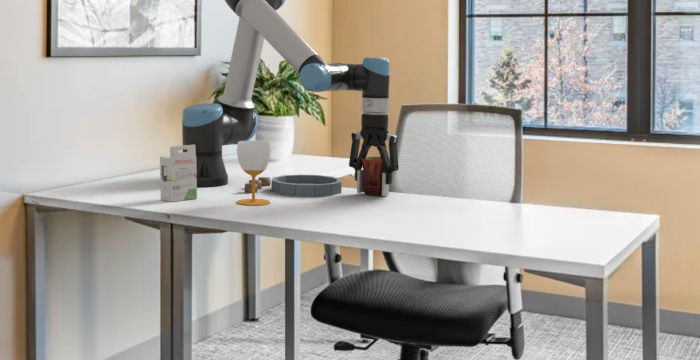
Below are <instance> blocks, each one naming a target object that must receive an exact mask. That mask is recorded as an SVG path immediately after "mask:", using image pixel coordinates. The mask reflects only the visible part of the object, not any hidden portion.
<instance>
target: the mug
mask: <svg viewBox="0 0 700 360" xmlns="http://www.w3.org/2000/svg"><path fill="white" fill-rule="evenodd" d="M389 159H390V157H389ZM361 161H362V165H363V166H362V167H363V168H362V169H363V185H362V186H363V192H362V193H364V194H365V195H367V196H373V197H374V196H375V197H376V196H377V197H379V196H382V173H384V172H385V169H384V166H383V163H382V160H381V157H380V156H366V159H362V158H361Z"/></svg>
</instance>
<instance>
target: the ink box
mask: <svg viewBox="0 0 700 360" xmlns="http://www.w3.org/2000/svg"><path fill="white" fill-rule="evenodd" d="M183 149H184V150H186V149H187V152H183ZM180 151H182V152H180ZM159 167H160V168H159V174H160V176H159V177H160V179H159V180H160V181H159V182H160V200H161V201H165V202H169V203H175V202H182V201H190V200H196V199H198V197H197V196H198V194H197V192H198V191H197V190H198V189H197V188H198V186H197V178H196V177H197V174H196V149H195V145H183V144H182V145H174V146H173V145H172V146H170V148H169V155H167V156H166V155H165V156H161V155H160V156H159Z"/></svg>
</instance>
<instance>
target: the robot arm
mask: <svg viewBox="0 0 700 360" xmlns="http://www.w3.org/2000/svg"><path fill="white" fill-rule="evenodd" d="M224 2H225V4H226V5H227V6H228V7H229V9H231V10H232V11H233V13H234V14H235V15H236V16H237V17H239V18H238V23H237V27H236V34H235V38H234V42H233V47H232V52H231V55H230V56H231V57H230V61H229V65H228V66H229V67H228V72H227V77H226V81H225V84H224V90H223V94H221V95H219V96H218V97H217V101H216V103H212V102H211V103H209V102H208V103H207V102H205V103H198V104H197V103H196V104H192V105H188V106H186V107H185V108H184V109H183V111H182V119H181V123H182V126H181V127H182V128H181V129H182V136H181V137H182V145H195V149H196V174H197V177H196V178H197V187H217V186H224V185H228V183H229V176H228V175H229V174H228V173H227V170H226V166H225V162H224V158H223V146H231V145H238V142H240V141H251V139H253V137H254V136H255V135H256V133H257V132H258V131H257V130H258V126H259V118H258V117H257V113H256V111H255V106H256V105H255V103H254V102H253V100H252V98H253V93H254V90H255V89H254V88H255V83H256V79H257V74H258V71H259V65H260V60H261V55H262V52H263V47H264V41H265V40H266V42H267V43H269V45H270V46H271V47H272V48H273V49H274V50H275V51H276V52H277V53H278V54H279V55H280V56H281V57H282V58H283V59H284V60H285V61H286V62H287V63H288V64H289V66H291V67H292V69H293V70H294V71H295V72H296V73H298V75H299V82H300V84H301V86H302V88H303V89H304V90H306V91H308V92H314V93H321V92H335V91H336V92H337V91H339V92H341V91H354V92H355V91H357V92H361V95H362V96H361V112H363V113H362V114H361V117H360V118H361V122H360V123H361V130H360V131H359V132H358V131H357V132H352V133H351V140H352V141H351V147H350V155H349V161H348V167H349V168H353V169H354V181H355V182H356V194H361V193H364V192H363V186H362V185H363V165H362V161H361V158H362V159H366V157H368V154H369V151H370V150H371V149H370V148H372V147H375V148H376V149H377V151H378V153H379V157H381V160H382V163H383V166H384V169H385V172H384V173H382V195H381V196H382V197H386V196H389V194H390V185H391V184H392V182H393V181H392V180H393V173H394V172H396V171H399V157H398V155H399V154H398V148H397V147H398V146H397V143H398V139H399V136H398V135H396V134H395V135H393V134H391V133H389V131H388V129H389V128H388V127H389V115H388V114H387V113H388V112H389V111H390V110H389V109H390V107H389V106H390V105H389V103H390V101H389V100H390V95H389V93H390V77H391V70H390V69H391V68H390V67H391V66H390V65H391V64H390V59H389V58H386V57H364V58H363V60H362V63H358V64H357V63H342V62H334V63H332V62H331V63H327V62H326V61H325V60H324V58H322V57H321V56H320V55H319V54H318V53H317V52H316V51H315V50H314V49H313V48H312V47H311V45H309V44H308V43H307V41H306V40H304V38H302V36H300V34H298V32H297V31H296V30H295V29H293V27H292V26H291V25H290V24H289V23H288V22H287V21H286V20H285V19H284V18H283V17H282V16H281V15H280V14H279V13H278V12H277V10H279V9H280V8H281V7H283V5H284V4H285V3H286V0H224ZM361 139H362V140H363V141H362V144H361ZM386 141H387V142H388V150H387V144H386ZM360 144H361V148H360ZM182 152H187V149H186V150H184V149H182ZM389 158H390V159H389Z"/></svg>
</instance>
